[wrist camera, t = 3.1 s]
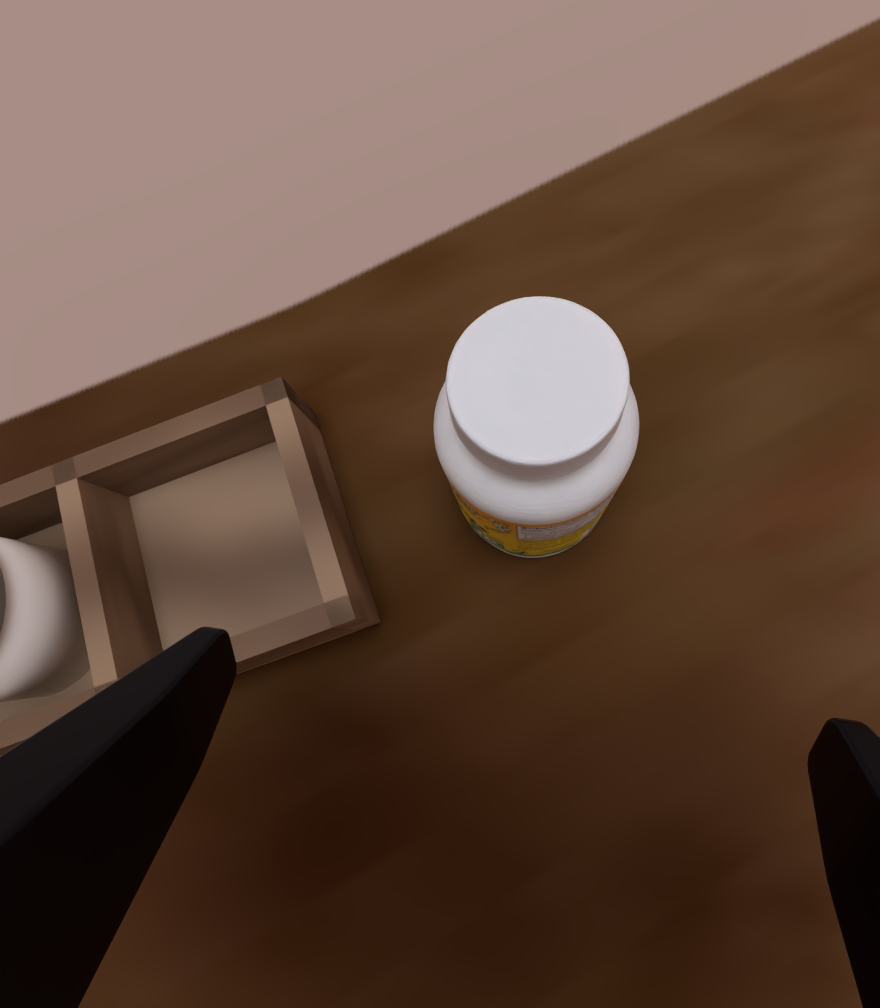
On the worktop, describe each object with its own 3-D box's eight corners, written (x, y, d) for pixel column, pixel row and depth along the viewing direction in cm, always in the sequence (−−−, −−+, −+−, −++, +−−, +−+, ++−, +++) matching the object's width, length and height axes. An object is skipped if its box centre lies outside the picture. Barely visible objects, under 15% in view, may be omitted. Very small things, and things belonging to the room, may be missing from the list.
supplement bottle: (624, 537, 22) (702, 460, 13) (478, 576, 22) (448, 529, 13) (579, 400, 23) (619, 238, 14) (442, 439, 23) (390, 306, 14)
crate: (380, 622, 22) (355, 618, 19) (-30, 771, 23) (-126, 794, 20) (314, 413, 24) (281, 376, 21) (-60, 556, 25) (-151, 542, 22)
